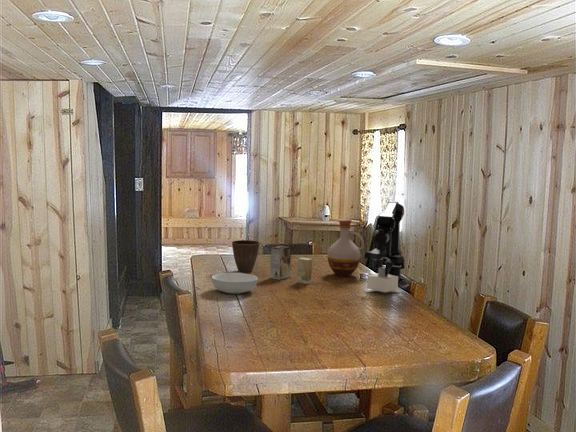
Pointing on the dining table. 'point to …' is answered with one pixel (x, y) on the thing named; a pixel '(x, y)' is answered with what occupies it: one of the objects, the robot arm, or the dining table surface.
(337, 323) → the dining table surface
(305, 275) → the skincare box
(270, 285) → the dining table surface
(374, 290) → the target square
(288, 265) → the coffee box
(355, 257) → the jug
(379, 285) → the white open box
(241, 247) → the plant pot
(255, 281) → the serving bowl
